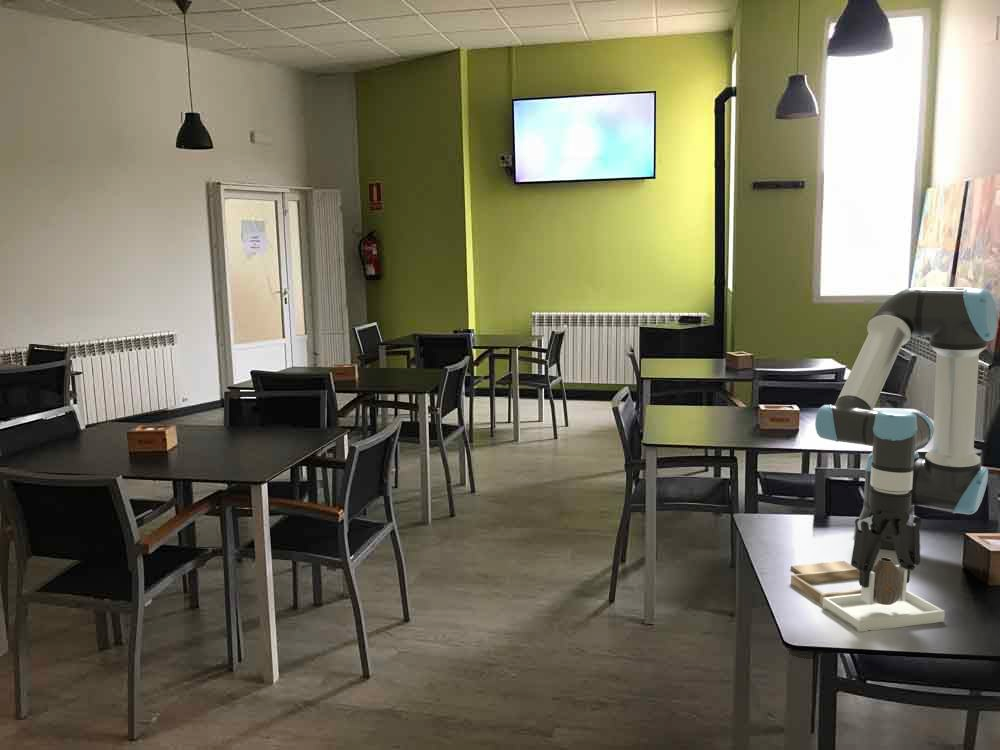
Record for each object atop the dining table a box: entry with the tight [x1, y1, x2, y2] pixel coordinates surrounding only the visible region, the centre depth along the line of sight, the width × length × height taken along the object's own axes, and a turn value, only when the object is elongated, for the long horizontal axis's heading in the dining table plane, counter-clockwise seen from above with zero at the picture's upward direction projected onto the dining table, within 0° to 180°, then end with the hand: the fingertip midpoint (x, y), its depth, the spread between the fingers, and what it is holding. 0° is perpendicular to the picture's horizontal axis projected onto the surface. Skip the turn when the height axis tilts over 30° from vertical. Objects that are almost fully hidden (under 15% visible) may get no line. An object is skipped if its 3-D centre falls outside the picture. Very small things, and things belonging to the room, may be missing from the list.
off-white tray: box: [822, 589, 946, 633], centre depth 168 cm, size 19×11×2 cm, turn 104°
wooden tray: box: [790, 568, 861, 605], centre depth 181 cm, size 19×11×2 cm, turn 104°
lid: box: [790, 560, 855, 574], centre depth 191 cm, size 14×6×1 cm, turn 104°
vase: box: [872, 556, 903, 605], centre depth 167 cm, size 7×7×9 cm
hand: (883, 599), depth 168 cm, fingers closed on vase, 7 cm apart
